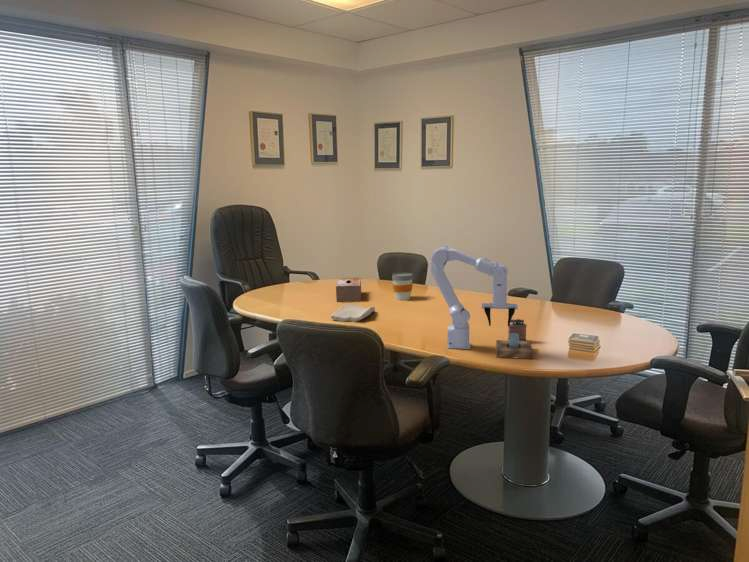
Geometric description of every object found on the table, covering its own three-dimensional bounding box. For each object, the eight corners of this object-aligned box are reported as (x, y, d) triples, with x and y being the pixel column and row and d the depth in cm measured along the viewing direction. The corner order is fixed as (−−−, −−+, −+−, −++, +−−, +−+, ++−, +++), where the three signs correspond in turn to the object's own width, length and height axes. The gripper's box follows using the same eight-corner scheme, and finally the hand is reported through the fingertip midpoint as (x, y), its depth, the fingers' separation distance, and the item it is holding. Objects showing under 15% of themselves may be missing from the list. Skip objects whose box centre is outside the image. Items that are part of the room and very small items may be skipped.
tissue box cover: (339, 293, 349) (338, 278, 347) (361, 292, 349) (360, 277, 348) (336, 302, 324) (335, 286, 322) (360, 301, 324) (360, 285, 322)
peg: (508, 354, 222) (508, 335, 220) (509, 351, 225) (509, 332, 224) (518, 354, 220) (518, 336, 219) (519, 351, 224) (519, 333, 223)
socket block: (496, 357, 218) (496, 350, 218) (496, 346, 232) (496, 340, 231) (532, 358, 215) (532, 351, 215) (530, 348, 229) (530, 341, 228)
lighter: (524, 339, 241) (525, 317, 239) (527, 341, 238) (527, 319, 236) (506, 340, 241) (507, 318, 239) (509, 342, 237) (509, 320, 236)
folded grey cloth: (380, 314, 297) (347, 308, 304) (381, 301, 296) (348, 295, 302) (364, 327, 275) (328, 320, 282) (365, 313, 273) (329, 307, 280)
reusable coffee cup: (388, 299, 327) (388, 275, 324) (399, 295, 337) (399, 271, 334) (406, 301, 320) (405, 276, 317) (417, 297, 330) (416, 273, 327)
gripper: (481, 295, 222) (481, 327, 224) (518, 296, 218) (517, 328, 221) (482, 291, 228) (481, 322, 231) (517, 292, 225) (516, 324, 228)
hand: (499, 325), depth 226 cm, fingers open, 7 cm apart
